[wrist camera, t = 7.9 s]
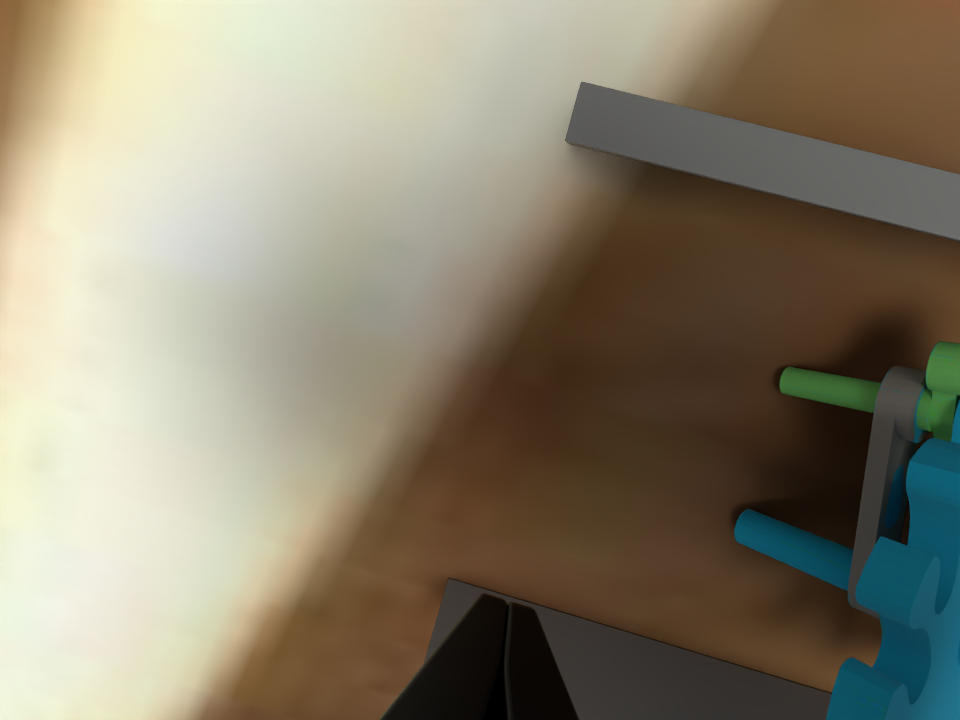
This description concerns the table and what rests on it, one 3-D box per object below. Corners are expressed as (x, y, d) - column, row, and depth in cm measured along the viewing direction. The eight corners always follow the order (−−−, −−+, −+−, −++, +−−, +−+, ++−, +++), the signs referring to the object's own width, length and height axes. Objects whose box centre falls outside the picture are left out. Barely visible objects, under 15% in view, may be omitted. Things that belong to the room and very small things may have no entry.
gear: (1028, 724, 16) (880, 999, 10) (806, 614, 21) (619, 760, 15) (1120, 329, 14) (994, 394, 8) (847, 305, 18) (645, 336, 13)
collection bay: (1040, 782, 19) (1157, 941, 15) (442, 600, 20) (411, 705, 16) (1463, 319, 13) (1829, 388, 9) (579, 99, 14) (581, 81, 10)
